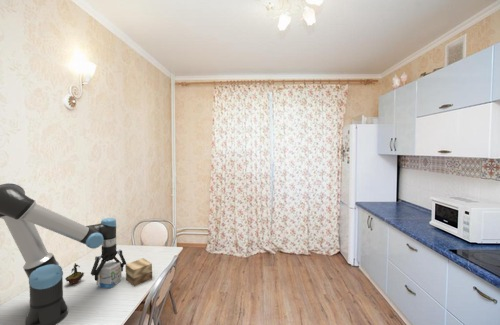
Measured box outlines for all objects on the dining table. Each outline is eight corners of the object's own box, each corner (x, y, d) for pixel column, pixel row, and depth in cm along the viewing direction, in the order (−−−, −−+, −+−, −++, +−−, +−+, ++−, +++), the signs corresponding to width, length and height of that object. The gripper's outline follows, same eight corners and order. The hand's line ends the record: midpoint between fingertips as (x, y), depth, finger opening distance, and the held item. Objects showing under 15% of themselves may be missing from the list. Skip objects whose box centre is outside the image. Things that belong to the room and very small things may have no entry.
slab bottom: (134, 286, 137) (134, 278, 137) (126, 280, 144) (125, 272, 144) (152, 279, 145) (152, 271, 145) (143, 273, 152) (143, 265, 152)
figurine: (75, 278, 144) (74, 259, 144) (87, 279, 144) (87, 259, 143) (61, 287, 135) (61, 267, 134) (74, 288, 134) (74, 267, 134)
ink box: (110, 288, 134) (109, 268, 134) (97, 286, 136) (97, 267, 135) (121, 280, 143) (120, 262, 142) (109, 279, 144) (108, 260, 144)
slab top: (133, 278, 137) (133, 270, 136) (125, 272, 144) (125, 264, 143) (151, 271, 145) (151, 263, 145) (143, 265, 152) (143, 258, 152)
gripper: (87, 253, 127) (88, 292, 128) (132, 240, 145) (132, 275, 146) (83, 249, 132) (84, 287, 133) (126, 237, 150) (127, 271, 151)
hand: (109, 281), depth 139 cm, fingers closed on ink box, 11 cm apart
